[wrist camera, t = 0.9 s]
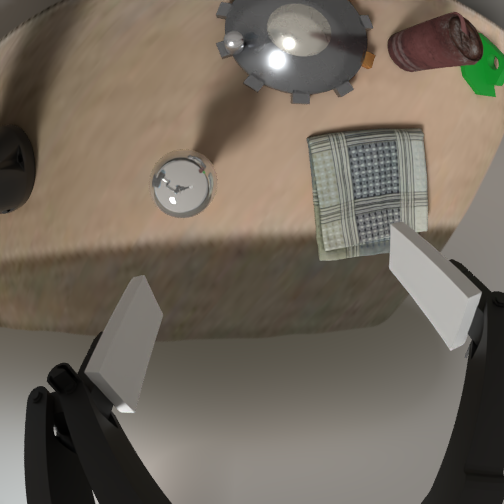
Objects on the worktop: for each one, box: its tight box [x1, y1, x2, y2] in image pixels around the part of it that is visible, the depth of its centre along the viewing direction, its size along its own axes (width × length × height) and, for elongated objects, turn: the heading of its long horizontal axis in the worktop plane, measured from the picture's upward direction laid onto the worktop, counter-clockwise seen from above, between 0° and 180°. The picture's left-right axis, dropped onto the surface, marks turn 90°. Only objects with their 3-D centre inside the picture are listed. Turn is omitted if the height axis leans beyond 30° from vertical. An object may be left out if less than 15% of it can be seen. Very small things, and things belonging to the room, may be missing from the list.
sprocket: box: [216, 0, 375, 104], centre depth 23 cm, size 19×20×5 cm
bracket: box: [460, 33, 504, 97], centre depth 22 cm, size 12×8×7 cm, turn 13°
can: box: [388, 12, 483, 72], centre depth 20 cm, size 6×6×14 cm
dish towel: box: [307, 128, 428, 261], centre depth 35 cm, size 19×18×3 cm
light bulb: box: [149, 149, 218, 218], centre depth 29 cm, size 7×7×12 cm
